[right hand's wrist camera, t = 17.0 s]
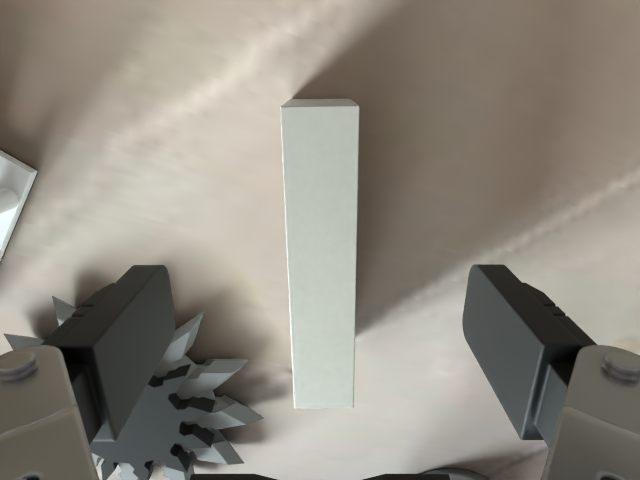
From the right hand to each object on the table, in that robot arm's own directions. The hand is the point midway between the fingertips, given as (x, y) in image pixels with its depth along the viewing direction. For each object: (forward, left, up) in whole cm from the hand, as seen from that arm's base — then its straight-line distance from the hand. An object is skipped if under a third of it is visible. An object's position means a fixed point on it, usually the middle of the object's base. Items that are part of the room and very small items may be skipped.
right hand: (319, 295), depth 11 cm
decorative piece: (+29, -20, -28) cm, 45 cm away
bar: (+9, 0, -28) cm, 29 cm away
